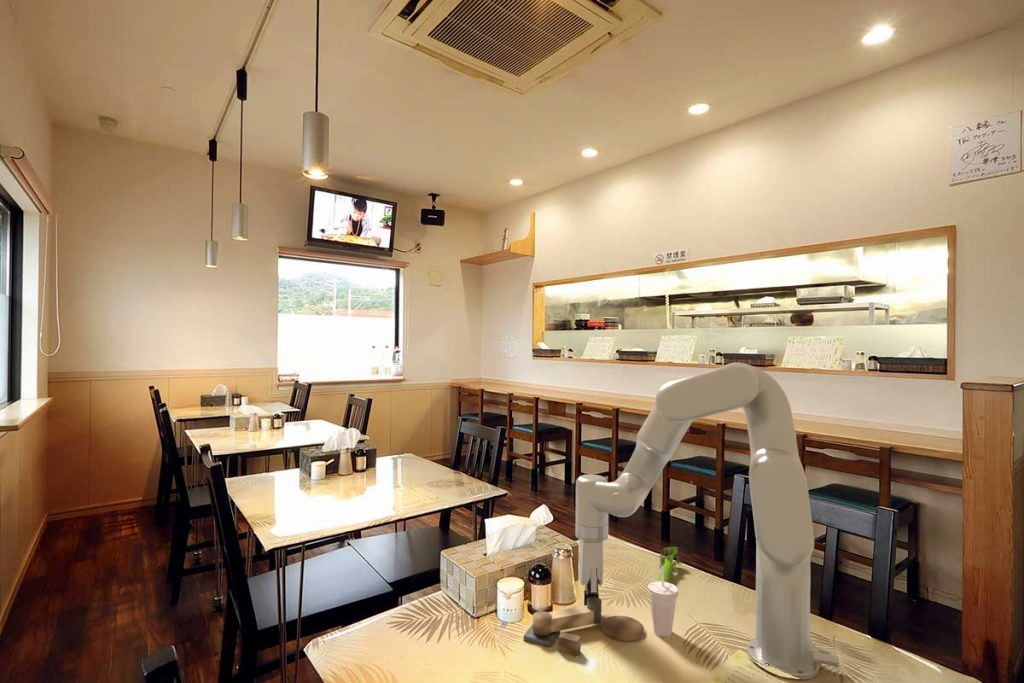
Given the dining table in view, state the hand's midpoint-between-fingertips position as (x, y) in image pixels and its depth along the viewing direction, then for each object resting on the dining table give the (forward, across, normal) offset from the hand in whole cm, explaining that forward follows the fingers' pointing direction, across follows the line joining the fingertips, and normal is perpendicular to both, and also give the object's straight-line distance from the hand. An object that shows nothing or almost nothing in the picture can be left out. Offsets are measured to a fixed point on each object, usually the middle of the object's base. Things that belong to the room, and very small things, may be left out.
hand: (591, 609), depth 119 cm
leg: (0, +8, -6) cm, 10 cm away
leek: (+2, -15, +21) cm, 26 cm away
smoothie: (+1, +7, +15) cm, 16 cm away
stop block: (+1, +15, -6) cm, 16 cm away
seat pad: (+1, +6, +6) cm, 9 cm away
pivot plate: (+1, +10, -12) cm, 15 cm away
